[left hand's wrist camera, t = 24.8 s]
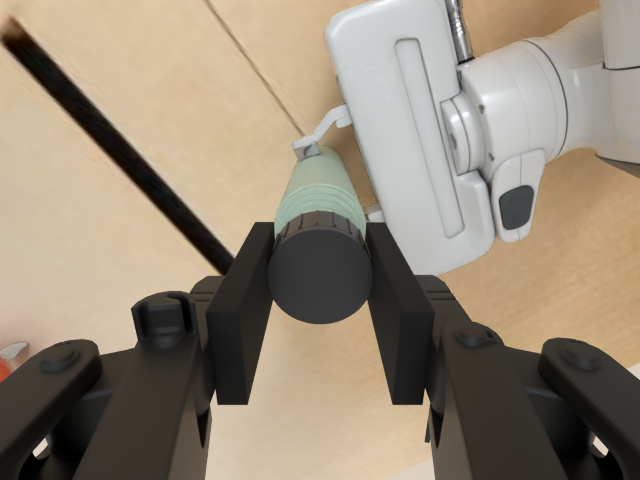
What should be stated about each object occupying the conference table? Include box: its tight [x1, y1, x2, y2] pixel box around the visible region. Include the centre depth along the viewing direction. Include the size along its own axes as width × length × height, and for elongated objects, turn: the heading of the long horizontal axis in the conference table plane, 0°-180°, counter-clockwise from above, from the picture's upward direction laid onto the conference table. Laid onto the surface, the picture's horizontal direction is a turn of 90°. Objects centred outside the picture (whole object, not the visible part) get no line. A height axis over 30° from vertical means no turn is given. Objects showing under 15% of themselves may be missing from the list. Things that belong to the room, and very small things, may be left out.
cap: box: [267, 210, 373, 324], centre depth 13 cm, size 4×4×2 cm
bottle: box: [274, 146, 366, 239], centre depth 23 cm, size 4×4×21 cm
